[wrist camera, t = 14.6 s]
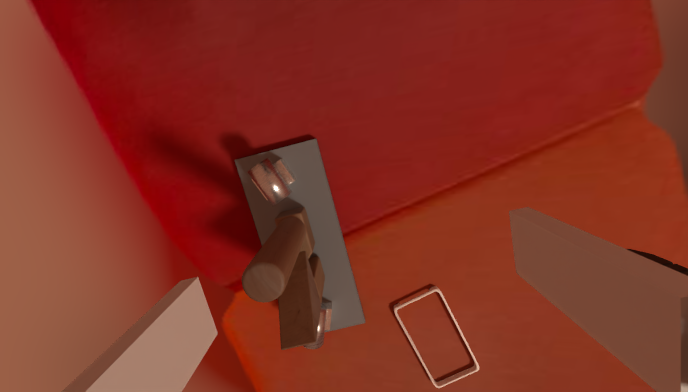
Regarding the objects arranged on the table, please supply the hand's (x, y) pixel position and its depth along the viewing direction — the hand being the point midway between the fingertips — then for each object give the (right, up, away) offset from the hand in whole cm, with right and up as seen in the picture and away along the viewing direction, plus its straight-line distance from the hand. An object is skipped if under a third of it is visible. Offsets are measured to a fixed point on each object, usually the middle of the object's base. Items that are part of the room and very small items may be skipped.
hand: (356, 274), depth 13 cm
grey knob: (-5, -13, +33) cm, 36 cm away
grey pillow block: (-9, +6, +30) cm, 32 cm away
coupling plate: (-6, -3, +31) cm, 32 cm away
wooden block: (-6, -3, +30) cm, 31 cm away
